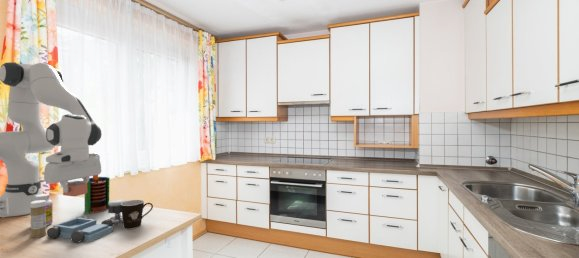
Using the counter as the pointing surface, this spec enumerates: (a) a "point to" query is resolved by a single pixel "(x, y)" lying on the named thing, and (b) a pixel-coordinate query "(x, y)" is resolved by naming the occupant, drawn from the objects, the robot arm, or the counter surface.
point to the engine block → (76, 188)
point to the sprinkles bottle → (38, 218)
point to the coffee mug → (133, 213)
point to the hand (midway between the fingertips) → (75, 190)
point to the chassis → (80, 229)
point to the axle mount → (117, 218)
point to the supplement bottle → (47, 207)
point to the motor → (97, 194)
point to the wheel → (115, 206)
